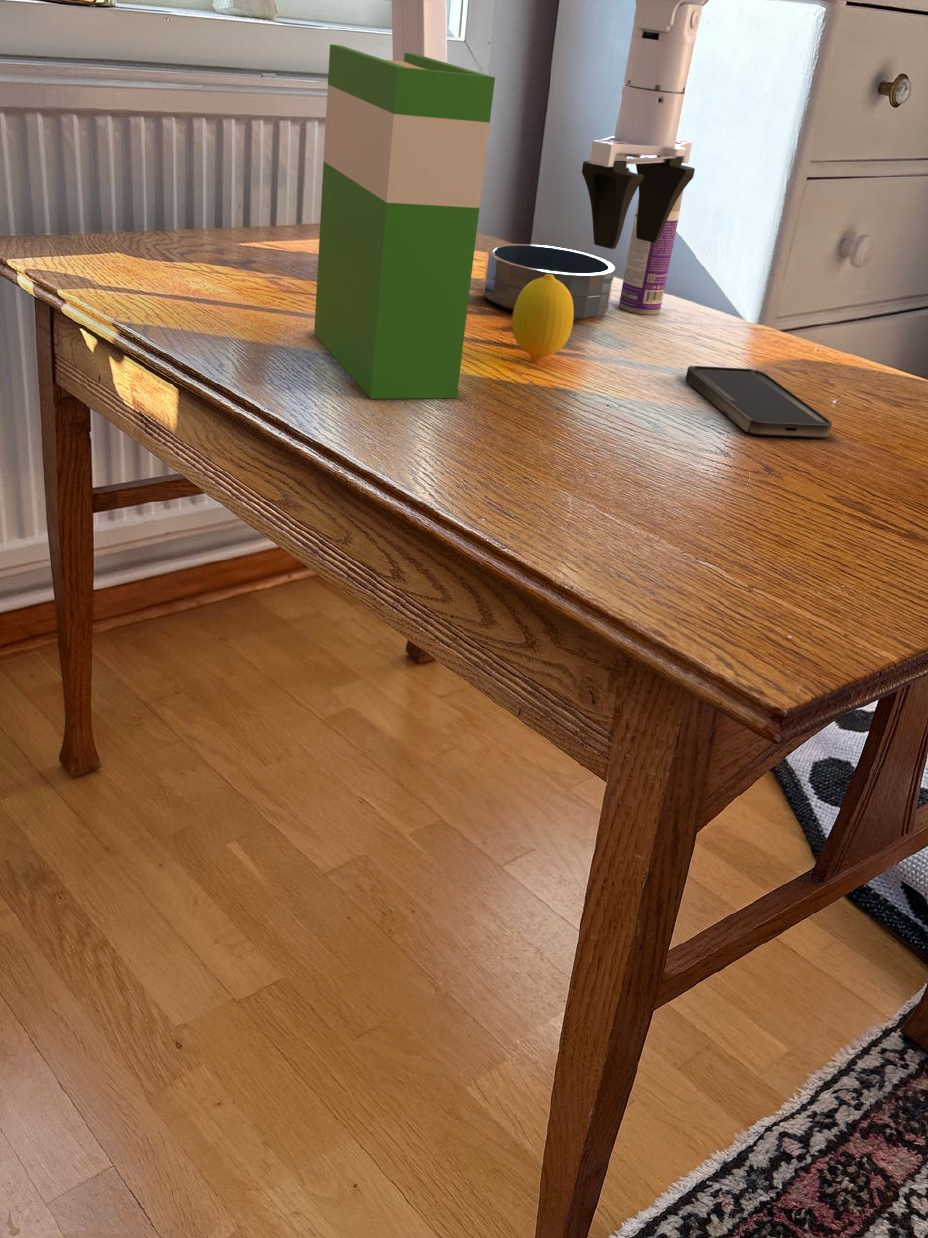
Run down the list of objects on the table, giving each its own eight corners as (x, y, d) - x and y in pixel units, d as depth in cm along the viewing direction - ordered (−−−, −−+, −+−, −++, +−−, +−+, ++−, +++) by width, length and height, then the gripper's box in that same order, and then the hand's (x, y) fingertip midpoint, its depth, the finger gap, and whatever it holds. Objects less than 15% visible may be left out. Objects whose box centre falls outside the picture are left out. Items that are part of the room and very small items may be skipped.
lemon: (548, 374, 102) (562, 285, 98) (496, 359, 104) (507, 270, 100) (576, 363, 106) (590, 276, 102) (525, 348, 108) (537, 263, 104)
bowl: (469, 307, 119) (475, 259, 117) (495, 282, 131) (501, 237, 129) (598, 330, 117) (606, 282, 115) (613, 302, 129) (621, 257, 127)
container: (658, 306, 130) (686, 168, 123) (660, 316, 126) (689, 174, 119) (618, 301, 130) (643, 162, 123) (619, 310, 126) (645, 168, 119)
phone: (759, 369, 107) (837, 425, 94) (756, 380, 108) (833, 438, 95) (682, 365, 105) (751, 421, 92) (680, 376, 106) (748, 434, 93)
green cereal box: (314, 333, 104) (330, 43, 93) (390, 334, 107) (415, 53, 95) (370, 398, 90) (397, 67, 79) (456, 397, 93) (495, 77, 81)
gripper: (650, 94, 95) (620, 259, 102) (730, 96, 105) (699, 246, 112) (581, 81, 99) (557, 241, 105) (666, 85, 109) (638, 231, 116)
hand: (626, 243), depth 109 cm, fingers open, 7 cm apart
